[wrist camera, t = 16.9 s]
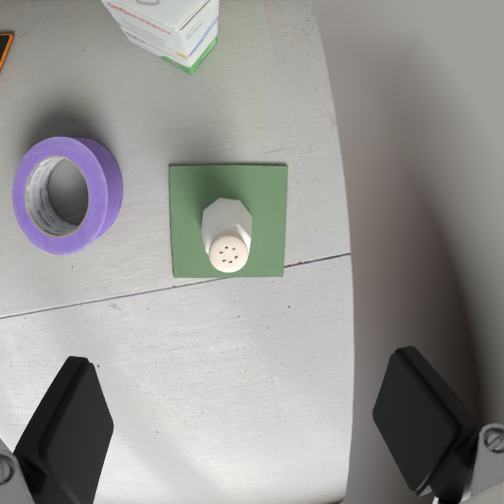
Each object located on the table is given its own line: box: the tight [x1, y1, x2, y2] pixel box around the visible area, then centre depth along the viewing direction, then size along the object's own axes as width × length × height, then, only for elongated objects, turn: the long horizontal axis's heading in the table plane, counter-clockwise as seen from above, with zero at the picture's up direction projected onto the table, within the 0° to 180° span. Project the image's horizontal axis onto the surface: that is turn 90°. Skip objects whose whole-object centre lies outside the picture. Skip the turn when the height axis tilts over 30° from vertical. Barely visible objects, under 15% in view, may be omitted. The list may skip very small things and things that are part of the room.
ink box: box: [101, 0, 219, 75], centre depth 21 cm, size 9×5×12 cm, turn 54°
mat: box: [170, 165, 288, 278], centre depth 33 cm, size 12×12×1 cm
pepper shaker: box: [201, 198, 252, 273], centre depth 27 cm, size 5×5×11 cm
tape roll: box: [12, 136, 123, 255], centre depth 28 cm, size 12×12×5 cm
